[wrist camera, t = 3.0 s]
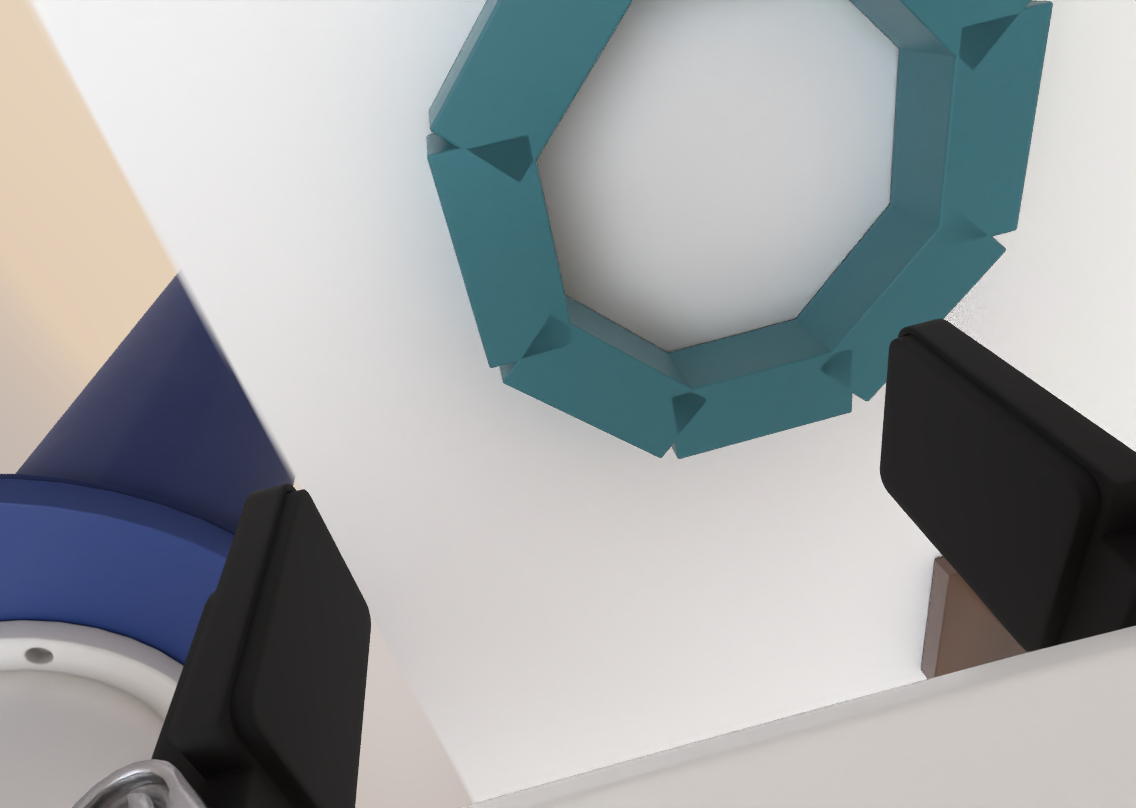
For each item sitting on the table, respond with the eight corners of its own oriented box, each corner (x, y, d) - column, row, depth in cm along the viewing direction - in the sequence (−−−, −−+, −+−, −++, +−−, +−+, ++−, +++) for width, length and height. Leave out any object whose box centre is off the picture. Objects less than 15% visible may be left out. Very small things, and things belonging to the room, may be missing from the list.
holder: (920, 669, 40) (1057, 860, 31) (934, 558, 35) (1101, 748, 26) (1068, 626, 40) (1243, 802, 32) (1102, 510, 35) (1320, 681, 27)
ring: (519, 455, 27) (529, 500, 25) (359, -89, 18) (350, -98, 15) (946, 340, 28) (994, 373, 26) (1012, -239, 19) (1098, -269, 16)
